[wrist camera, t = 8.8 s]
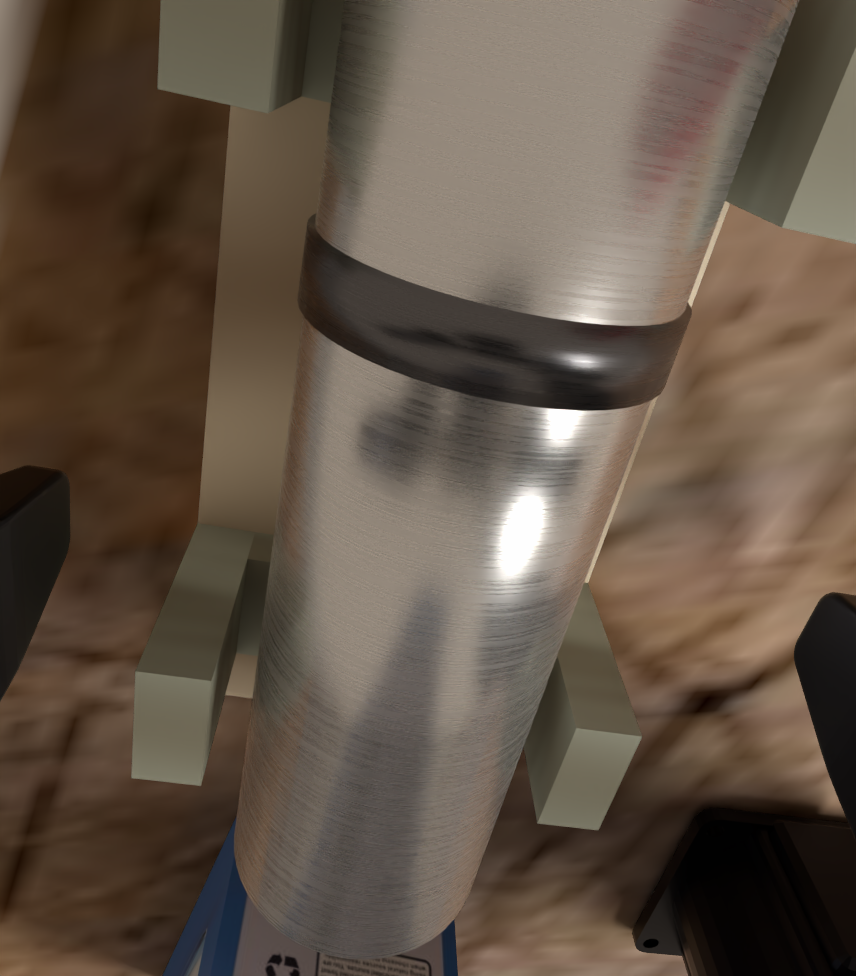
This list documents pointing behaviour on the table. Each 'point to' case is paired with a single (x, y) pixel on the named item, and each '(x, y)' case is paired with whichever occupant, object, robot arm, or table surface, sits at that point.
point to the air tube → (468, 417)
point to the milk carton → (278, 940)
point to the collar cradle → (274, 350)
